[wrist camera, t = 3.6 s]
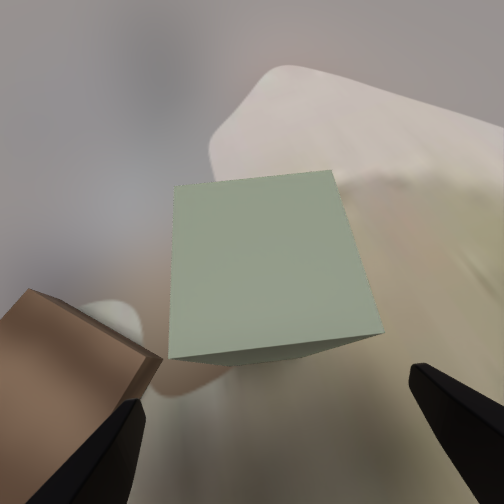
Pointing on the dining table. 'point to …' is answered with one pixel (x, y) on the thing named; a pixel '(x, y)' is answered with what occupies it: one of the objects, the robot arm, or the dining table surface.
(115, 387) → the walnut base board
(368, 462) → the dining table surface
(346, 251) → the sage-green block
